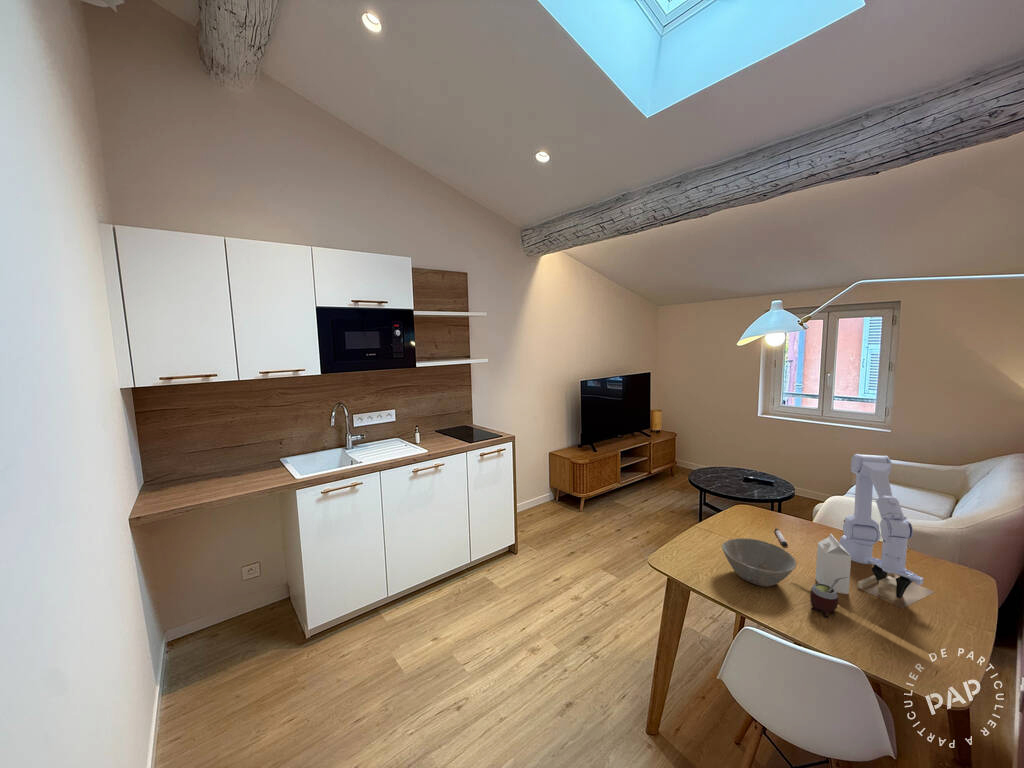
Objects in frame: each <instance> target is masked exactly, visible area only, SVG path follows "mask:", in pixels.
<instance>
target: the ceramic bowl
mask: <svg viewBox="0 0 1024 768" xmlns="http://www.w3.org/2000/svg"><path fill="white" fill-rule="evenodd" d="M721 549H722V551H723V554H724V555H725V557H726V560H727V562H728V563H729V565H730V566H731V567H732V569H733V571H734V572H735V573H736V574H737V576H738V577H739V578H741V579H742V580H744V581H746V582H749V583H750V584H751V583H752V584H754V585H757V586H760V587H765V588H767V587H771V586H775V585H778V584H779V583H780V582H781V581H783V580H784V579H786V578H787V577H788V576H789V575H790V574H792V572H793V571H794V570H795V568H796V567H797V560H796V559H795V558H794V556H792V554H791V553H789V552H788V551H787V550H785V549H784V548H782V547H780V546H778V545H775V544H772V543H769V542H767V541H764V540H760V539H753V538H742V537H741V538H731V539H729V540H726V541H725V542H723V543H722V544H721Z"/></svg>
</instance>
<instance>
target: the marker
mask: <svg viewBox="0 0 1024 768" xmlns="http://www.w3.org/2000/svg"><path fill="white" fill-rule="evenodd" d="M774 533H775V535H776V536H777V538H778V540H779V541H780V543H781V545H782V547H785V546H786V547H785V548H788V546H789V544H788V543H787V540H786V538H785V537H784V535H783V534H782V533H781V531H780V529H778V528H777V527H775V528H774Z"/></svg>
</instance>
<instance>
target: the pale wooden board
mask: <svg viewBox="0 0 1024 768" xmlns="http://www.w3.org/2000/svg"><path fill="white" fill-rule="evenodd" d="M888 576H890V577H893V578H895V579H896V578H898V577H899V575H896V574H894V573H888V572H887V576H886V577H888ZM856 587H857V589H860V590H862V591H864V592H866V593H868V594H869V595H872V596H874V597H876V598H878V599H881V600H883V601H884V602H887V603H889V604H891V605H893V606H896V607H897V608H899V609H902V610H903V609H905V608H907V607H909V606H910V605H912V604H914V603H916V602H918V601H921V600H922V599H924V598H926V597H928V596H930V595H932V594H935V591H934V590H932V589H929V588H927V587H924V586H921V585H918V584H916V583H915V582H912V583H911V584H910V585H909V586H908V587H907V588H906V590H905V592H904V594H903V597H901V598H899V599H897V600H895V601H891V600H888V599H886V598H884V597H882V596H880V595H878V582H877V579H876V577H875V575H874V574H873V575H870V576H868V577H865V578H863V579H861V580H859V581H857V585H856Z"/></svg>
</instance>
